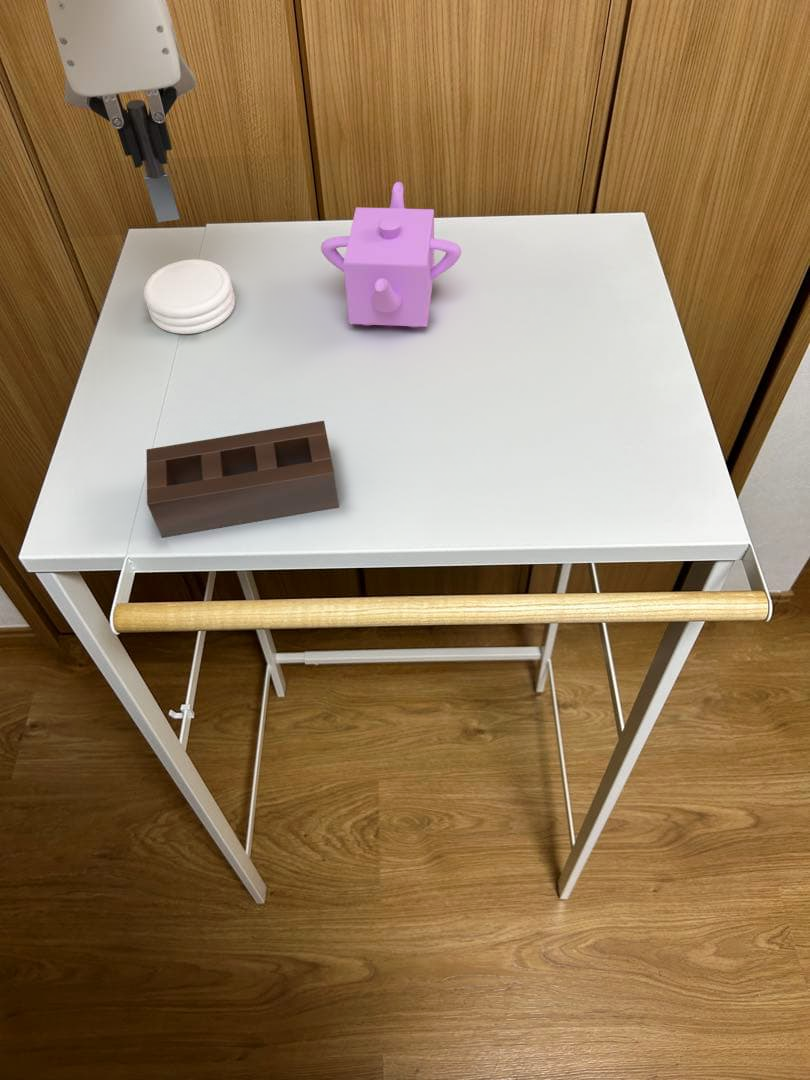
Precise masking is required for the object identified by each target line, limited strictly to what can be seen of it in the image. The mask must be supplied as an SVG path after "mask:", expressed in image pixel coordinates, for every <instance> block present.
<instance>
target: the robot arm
mask: <svg viewBox="0 0 810 1080" xmlns="http://www.w3.org/2000/svg"><path fill="white" fill-rule="evenodd" d="M45 4H46V8H47V12H48V17H49V20H50V24H51V27H52V31H53V35H54V40H55V42H56V46H57V50H58V55H59V57H60V61H61V64H62V67H63V70H64V74H65V78H64V79H65V80H64V81H65V82H64V101H65V102H66V104H68V105H69V106H74V107H78V108H82V109H86V110H87V109H90V110H91V111H92V112H94V113H95V114H97V115H98V116H100V117H102V118H103V119H105V120H106V121H107V122H109V123H110V125H111V126H112V127H113V128H114V129H116V131H117V135H118V137H119V140H120V144H121V147H122V149H123V153H124V155H125V157H128V156H131V158H132V162H133V164H134V168H135V169H138V168H141V167H142V166H144V164H143V161H142V157H141V154H140V150H139V147H138V144H137V140H136V137H135V134H134V130H133V127H132V124H131V121H130V118H129V114H128V111H127V109H125V107H124V103H123V101H122V98H121V94H128V93H129V94H130V93H136V92H145V97H146V101H147V103H148V115H149V118H150V120H149V128H150V131H151V135H152V139H153V142H154V146H155V149H156V153H157V156H158V160H159V163H162V165H167V164H168V153H167V151H172V150H173V146H172V141H171V136H170V133H169V128H168V126H167V122H166V116H167V115H168V113H169V112H170V110H171V109H172V107H173V105H174V104H175V102H176V101H177V99H178V98H180V97H183V96H185V95H187V94H188V93H189V92H191V91H193V90H194V89H196V88H197V80H196V76H195V74H194V72H193V71H192V70H191V68H190V66H189V65H188V63H187V62H186V60H185V59H184V57H183V55H182V54H181V53H180V49H179V48H180V47H179V44H178V43H179V42H178V40H177V35H176V31H175V28H174V25H173V21H172V18H171V14H170V9H169V7H168V3H167V0H45Z"/></svg>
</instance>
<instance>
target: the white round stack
mask: <svg viewBox="0 0 810 1080" xmlns="http://www.w3.org/2000/svg"><path fill="white" fill-rule="evenodd" d="M143 299H144V301H145V304H146V308H147V310H148V313H149V317H150V319H151V321H153V323H154V324H155V325H156V326H157V327H159V328H160V329H162V330H164V331H166V332H169V333H173V334H181V335H191V334H192V335H193V334H197V333H202V332H206V331H209V330H211V329H213V328H216V327H218V326H219V325H220V324H222V323H223V322H224V321H225V320H227V319H228V318H229V317H230V315H231V314H232V313H233V311H234V309H235V304H236V296H235V293H234V288H233V285H232V279H231V277H230V274H229V273H228V271H227V270H226V269H225V268H224V267H223V266H221V265H220V264H218V263H216V262H214V261H210V260H205V259H198V258H196V259H195V258H194V259H193V258H192V259H183V260H178V261H174V262H172V263H169V264H166V265H164V266H162V267H161V268H159V269H157V270H156V271H155V272H153V273H152V275H150V277H149V278H148V279H147V280H146V282H145V284H144V286H143Z"/></svg>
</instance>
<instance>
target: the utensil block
mask: <svg viewBox="0 0 810 1080" xmlns="http://www.w3.org/2000/svg"><path fill="white" fill-rule="evenodd" d="M325 423H326V422H325V420H319V421H313V422H306V423H299V424H295V425H288V426H281V427H277V428H270V429H264V430H257V431H251V432H245V433H239V434H233V435H227V436H226V435H225V436H220V437H215V438H208V439H202V440H196V441H190V442H183V443H178V444H172V445H165V446H159V447H153V448H147V449H146V454H145V455H146V505H147V508H148V510H149V512H150V514H151V516H152V518H153V521H154V523H155V525H156V527H157V530H158V532H159V534H160V536H161V538H168V537H173V536H180V535H185V534H190V533H198V532H203V531H209V530H215V529H221V528H226V527H232V526H237V525H244V524H250V523H255V522H261V521H268V520H273V519H278V518H284V517H290V516H295V515H301V514H308V513H314V512H318V511H325V510H331V509H336V508H340V501H339V495H338V489H337V483H336V475H335V470H334V464H333V459H332V454H331V450H330V444H329V438H328V434H327V429H326V424H325Z"/></svg>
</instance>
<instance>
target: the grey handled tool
mask: <svg viewBox="0 0 810 1080" xmlns="http://www.w3.org/2000/svg"><path fill="white" fill-rule="evenodd" d="M125 107H126V110H127V112H128V114H129V118H130V121H131V124H132V127H133V130H134V134H135V137H136V140H137V144H138V147H139V150H140V154H141V157H142V163H143V167H144V172H145V173H143V180H144V182H145V186H146V189H147V193H148V196H149V199H150V202H151V206H152V209H153V212H154V217H155V219H156V222H157V223H162V222H169V221H176V220H180V219H181V214H180V210H179V206H178V203H177V199H176V195H175V192H174V189H173V185H172V182H171V177H170V174H169V170H167V169H166V170H165V168H164V164H162V163H159V160H158V156H157V153H156V149H155V146H154V142H153V139H152V135H151V131H150V128H149V120H150V118H149V110H148V109H147V104H146V102H145V101H144V100H142V99H133V100H130V101H128V102H127V103H126V104H125Z"/></svg>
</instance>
